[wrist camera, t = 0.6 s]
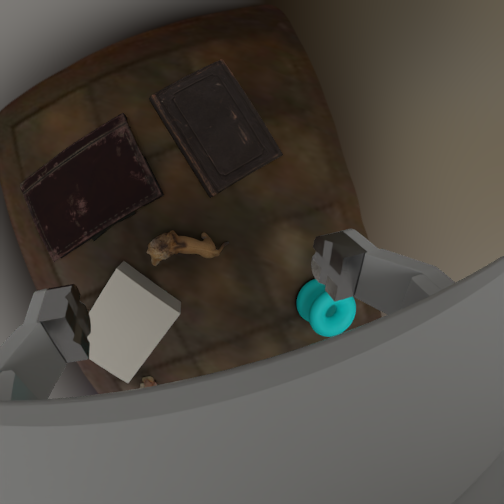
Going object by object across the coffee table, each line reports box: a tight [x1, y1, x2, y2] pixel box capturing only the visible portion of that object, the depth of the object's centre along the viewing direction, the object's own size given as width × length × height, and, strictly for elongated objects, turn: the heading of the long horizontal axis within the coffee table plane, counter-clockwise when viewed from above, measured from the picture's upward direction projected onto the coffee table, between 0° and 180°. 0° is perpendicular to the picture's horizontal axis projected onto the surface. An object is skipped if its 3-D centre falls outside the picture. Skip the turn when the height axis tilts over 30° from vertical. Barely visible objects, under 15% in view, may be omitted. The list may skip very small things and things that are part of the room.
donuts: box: [296, 279, 356, 337], centre depth 58 cm, size 10×10×10 cm
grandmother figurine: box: [140, 376, 157, 388], centre depth 53 cm, size 8×4×13 cm, turn 11°
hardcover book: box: [149, 59, 283, 198], centre depth 51 cm, size 16×23×2 cm
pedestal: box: [87, 261, 181, 383], centre depth 52 cm, size 14×20×6 cm
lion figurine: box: [147, 230, 229, 266], centre depth 51 cm, size 15×5×9 cm, turn 90°
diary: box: [20, 113, 164, 262], centre depth 47 cm, size 19×25×5 cm
